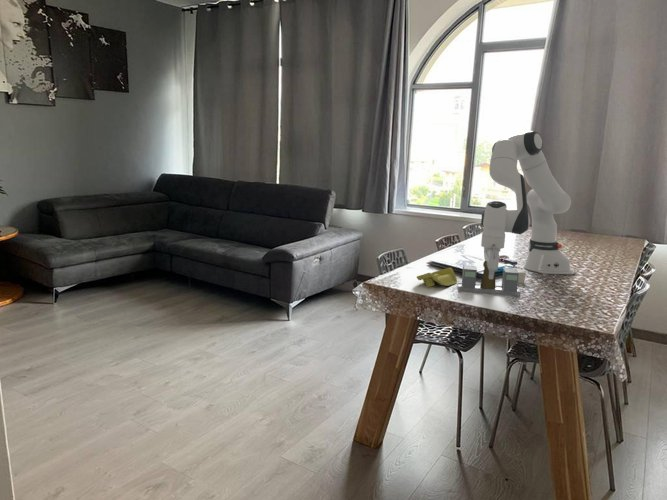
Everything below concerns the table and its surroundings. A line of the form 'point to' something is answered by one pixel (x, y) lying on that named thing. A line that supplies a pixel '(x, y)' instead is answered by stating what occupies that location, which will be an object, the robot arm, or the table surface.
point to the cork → (485, 280)
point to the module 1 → (469, 276)
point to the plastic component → (439, 277)
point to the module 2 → (510, 280)
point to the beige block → (521, 276)
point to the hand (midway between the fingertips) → (489, 275)
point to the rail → (488, 290)
